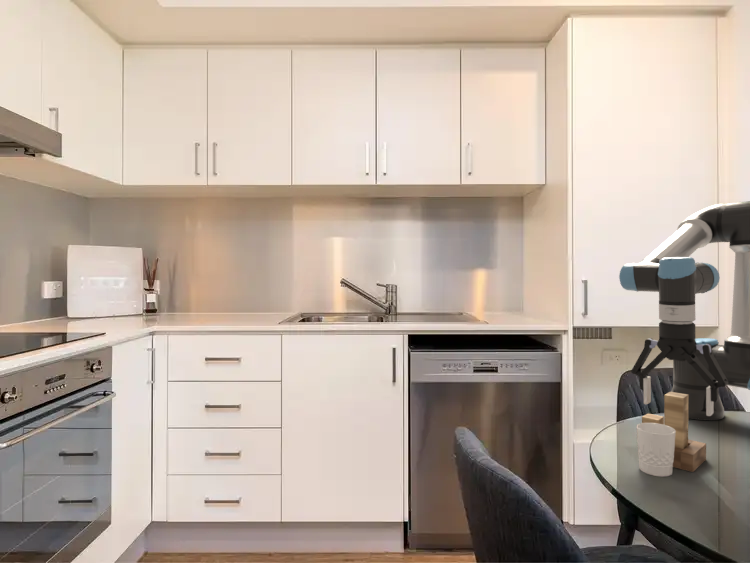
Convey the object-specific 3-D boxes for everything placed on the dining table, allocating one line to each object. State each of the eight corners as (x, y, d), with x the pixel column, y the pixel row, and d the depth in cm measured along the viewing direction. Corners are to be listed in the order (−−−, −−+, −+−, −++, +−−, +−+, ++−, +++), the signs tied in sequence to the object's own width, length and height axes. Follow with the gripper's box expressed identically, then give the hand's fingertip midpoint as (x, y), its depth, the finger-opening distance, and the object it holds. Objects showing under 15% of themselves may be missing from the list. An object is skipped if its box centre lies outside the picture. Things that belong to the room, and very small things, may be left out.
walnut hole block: (661, 448, 130) (661, 433, 129) (706, 459, 122) (706, 443, 122) (646, 459, 123) (646, 443, 123) (692, 472, 115) (693, 455, 115)
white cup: (670, 465, 119) (670, 423, 119) (679, 479, 112) (680, 435, 111) (633, 462, 122) (633, 421, 121) (640, 476, 114) (640, 432, 114)
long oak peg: (669, 455, 125) (670, 391, 125) (688, 459, 122) (688, 394, 122) (664, 459, 123) (664, 394, 122) (682, 464, 120) (683, 398, 119)
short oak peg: (647, 438, 137) (647, 413, 136) (663, 442, 134) (663, 416, 133) (641, 442, 134) (641, 416, 134) (658, 446, 131) (658, 420, 131)
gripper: (616, 319, 128) (617, 401, 129) (735, 328, 109) (734, 424, 110) (628, 316, 133) (629, 395, 134) (743, 323, 114) (743, 415, 115)
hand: (677, 408), depth 122 cm, fingers open, 13 cm apart
